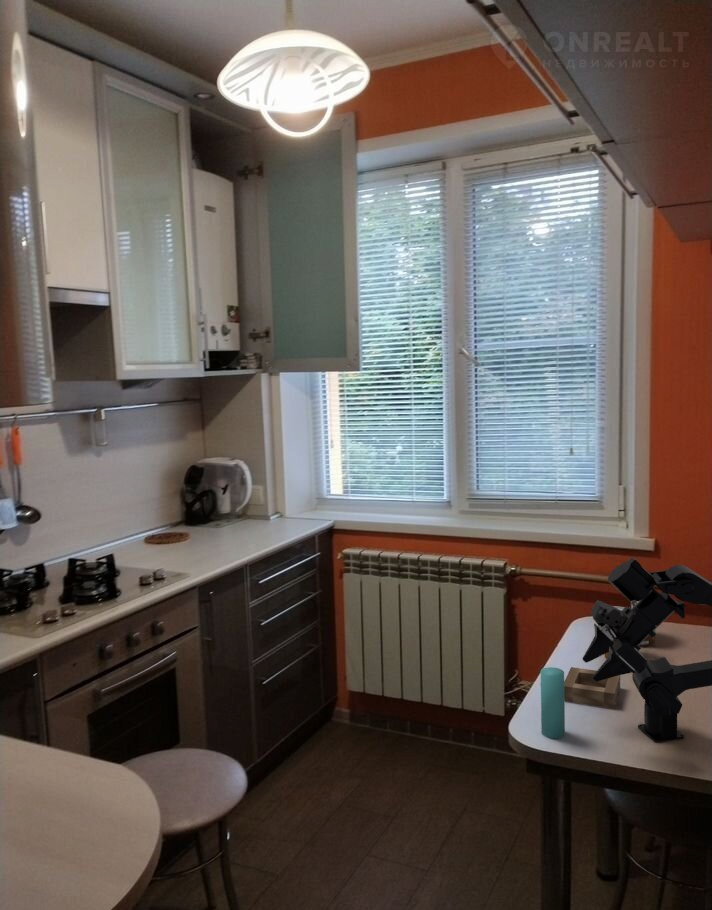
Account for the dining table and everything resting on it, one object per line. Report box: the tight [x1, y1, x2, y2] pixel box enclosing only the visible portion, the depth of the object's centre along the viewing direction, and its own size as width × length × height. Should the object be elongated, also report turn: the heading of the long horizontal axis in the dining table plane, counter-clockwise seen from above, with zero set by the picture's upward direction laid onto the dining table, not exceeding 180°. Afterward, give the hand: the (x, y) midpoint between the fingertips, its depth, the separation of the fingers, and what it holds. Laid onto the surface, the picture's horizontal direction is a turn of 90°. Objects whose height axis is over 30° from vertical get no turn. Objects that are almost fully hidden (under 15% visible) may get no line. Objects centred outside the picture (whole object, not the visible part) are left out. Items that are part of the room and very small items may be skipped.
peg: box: [540, 666, 566, 740], centre depth 148 cm, size 5×5×13 cm
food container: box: [630, 600, 657, 648], centre depth 195 cm, size 12×6×10 cm, turn 168°
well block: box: [564, 666, 621, 710], centre depth 165 cm, size 11×11×4 cm
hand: (588, 670), depth 147 cm, fingers open, 9 cm apart
